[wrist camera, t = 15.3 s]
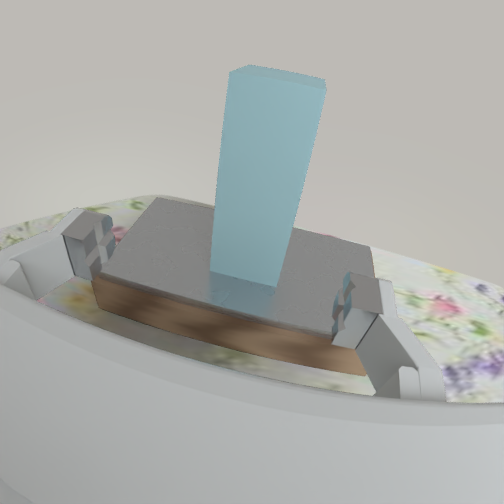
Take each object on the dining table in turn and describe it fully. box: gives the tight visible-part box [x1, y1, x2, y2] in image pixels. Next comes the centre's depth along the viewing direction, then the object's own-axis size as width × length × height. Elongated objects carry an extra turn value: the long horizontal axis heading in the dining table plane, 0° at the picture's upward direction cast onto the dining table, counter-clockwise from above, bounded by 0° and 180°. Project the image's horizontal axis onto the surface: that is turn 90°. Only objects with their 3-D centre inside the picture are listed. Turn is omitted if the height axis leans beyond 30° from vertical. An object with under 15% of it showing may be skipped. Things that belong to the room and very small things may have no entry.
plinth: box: [91, 197, 375, 376], centre depth 26 cm, size 22×12×4 cm, turn 79°
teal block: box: [210, 65, 326, 287], centre depth 21 cm, size 5×5×14 cm
